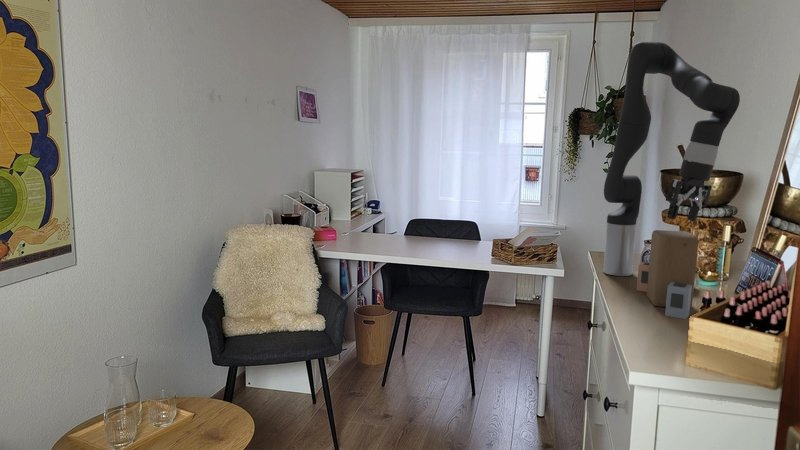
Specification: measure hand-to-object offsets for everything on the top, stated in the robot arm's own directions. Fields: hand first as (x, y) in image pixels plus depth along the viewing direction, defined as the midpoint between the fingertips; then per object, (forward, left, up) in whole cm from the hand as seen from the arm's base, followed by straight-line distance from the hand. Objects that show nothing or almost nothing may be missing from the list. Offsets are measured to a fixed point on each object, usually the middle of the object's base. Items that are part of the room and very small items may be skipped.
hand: (681, 219), depth 156 cm
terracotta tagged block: (-12, -9, -24) cm, 28 cm away
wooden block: (-1, -1, -24) cm, 24 cm away
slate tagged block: (+9, +3, -24) cm, 26 cm away
